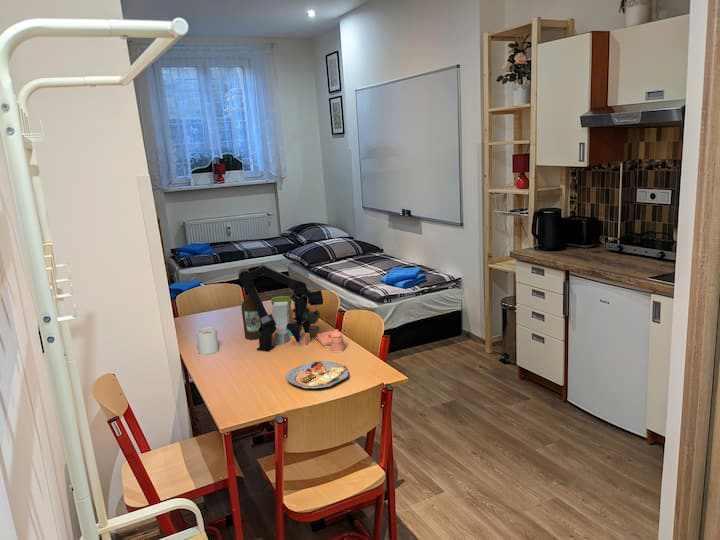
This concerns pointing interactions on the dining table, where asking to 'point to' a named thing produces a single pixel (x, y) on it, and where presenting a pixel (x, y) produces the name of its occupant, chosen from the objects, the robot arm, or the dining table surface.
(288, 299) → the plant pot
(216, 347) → the mug
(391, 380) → the dining table surface
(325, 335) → the pottery
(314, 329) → the walnut block
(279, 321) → the supplement box
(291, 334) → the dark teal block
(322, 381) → the food plate
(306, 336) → the terracotta block
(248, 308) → the olive oil
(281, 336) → the slate grey block
